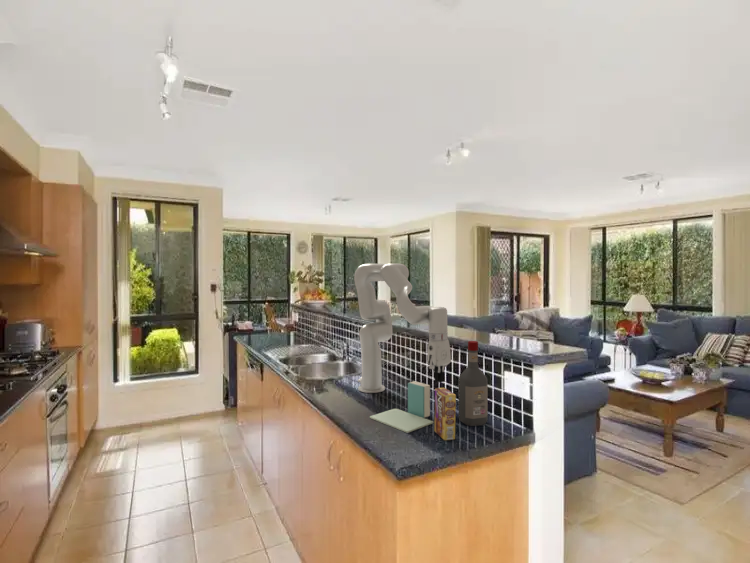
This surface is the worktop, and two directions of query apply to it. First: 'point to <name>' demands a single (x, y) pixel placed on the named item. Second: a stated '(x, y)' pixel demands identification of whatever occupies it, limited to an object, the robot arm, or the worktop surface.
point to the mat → (401, 420)
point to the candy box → (445, 413)
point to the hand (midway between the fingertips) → (438, 381)
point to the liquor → (473, 391)
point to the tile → (419, 399)
